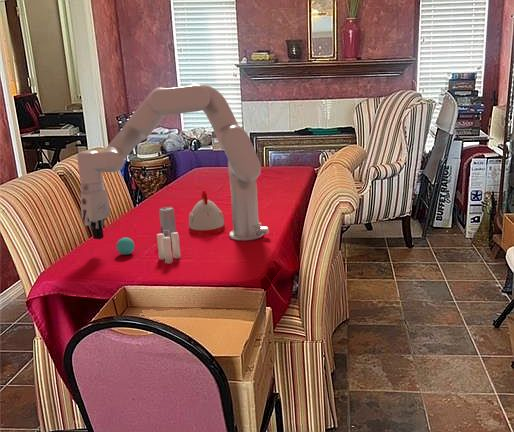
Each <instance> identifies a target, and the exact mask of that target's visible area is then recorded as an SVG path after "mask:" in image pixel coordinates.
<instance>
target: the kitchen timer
mask: <svg viewBox="0 0 514 432" xmlns="http://www.w3.org/2000/svg"><path fill="white" fill-rule="evenodd" d="M188 215H189V216H188V231H189V233H192V234H194V235H195V234H196V235H211V234H216V233H219V232H222V231H223V230H225V226H226V225H225V220H224V215H223V211H222V210H221V209H220V208H219V206H217V204H215V202H213V201H212V200H210V199H209V197H208V194H207V192H206V191H205V190H203V191H202V193H201V200H199V201H198V202H197V203H196V204H195V205H194V207H193V208H192V210H191V211H190V212H189V214H188Z"/></svg>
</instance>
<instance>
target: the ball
mask: <svg viewBox="0 0 514 432" xmlns="http://www.w3.org/2000/svg"><path fill="white" fill-rule="evenodd" d="M116 250H117V251H118V253H119V254H120V255H123V256H125V255H126V256H128V255H130V254H132V252H133V251H134V250H135V242H134V241H133V239H131V238H130V237H126V236H125V237H122V238H120V239H118V241H117V243H116Z"/></svg>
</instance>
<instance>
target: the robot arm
mask: <svg viewBox="0 0 514 432" xmlns="http://www.w3.org/2000/svg"><path fill="white" fill-rule="evenodd" d="M201 111H203V112H204V114H205V116H206V118H207V119H208V121H209V123H210V125H211V127H212V129H213V132H214V134H215V137H216V140H217V143H218V145H219V146H220V147H221V148H222V149H223V151H224V153H225V155H226V157H227V160H228V161H227V168H228V176H229V177H228V178H229V185H230V198H231V199H230V201H231V214H232V217H231V218H232V230H231V231H230V232H229V234H228V235H229V237H230V239H232V240H235V241H240V242H241V241H244V242H245V241H254V240H257V239H259V238H262V237H263V236H264V234H265V235H266V234H269V232H270V230H269V226H262V222H260V221H259V204H258V203H259V202H258V201H259V200H258V186H257V179H258V177H259V176H260V175H261V172H262V165H261V162H260V159H259V157H258V155H257V152H256V150H255V148H254V145H253V143H252V141H251V139H250V136H249V135H248V133H247V131H246V130H245V129H244V128H243V127H241V126H240V125H239V123H238V122H237V120H236V118H235V114H234V113H233V111H232V109H231V107H230V105H229V102H228V101H227V100H226V98H225V97H224V96H223V94H222V93H221V92H220V91H218V90H217V89H216V88H214V87H212V86H210V85H208V84H206V83H205V84H204V83H199V82H193V83H189V84H187V85H185V86H178V87H168V88H166V87H156V88H154V89H153V90H152V91H150V92H149V94H148V95H147V96H146V98H145V99H144V100H143V101H142V102H141V104H140V105H139V107H137V109H136V110H135V111H134V112H133V114H132V115H131V116H130V117H129V119H127V121H126V122H125V124H124V125H123V126H122V128H121V129H120V130H119V132H118V133H117V134H116V135H115V136H114V138H113V139H112V140H111V141H110V142H109V144H108V145H107V146H106V147H105V148H104V150H102V151H100V152H99V151H98V150H96V149H95V150H92V149H91V150H90V149H89V150H87V149H86V150H81V151H80V152H78V153H77V155H76V157H77V166H78V175H79V183H80V211H81V212H80V213H81V214H80V215H81V219H82V221H83V222H84V226H85V227H90V228H91V230H92V238H93V239H94V240H102V239H104V230H103V227H104V222H105V220H107V219H108V217H110V216H111V207H110V206H111V205H110V200H109V196H108V192H107V190H106V188H105V186H104V185H105V183H104V175H103V173H117V172H119V171H121V170H122V168H124V165H125V160H126V159H127V158H128V156H129V155H130V153H131V152H132V151H133V150H134V149H135V148H136V147H137V146H138V145H139V144H140V143H141V142H143V141H144V140H146V139H147V138H148V137H149V136H151V134H152V133H153V132H154V130H155V129H156V128H157V126H158V125H159V124H160V123H161V122H162V120H163V119H164V118H165V117H166V116H169V115H172V116H173V115H179V114H186V113H195V112H201Z"/></svg>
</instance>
